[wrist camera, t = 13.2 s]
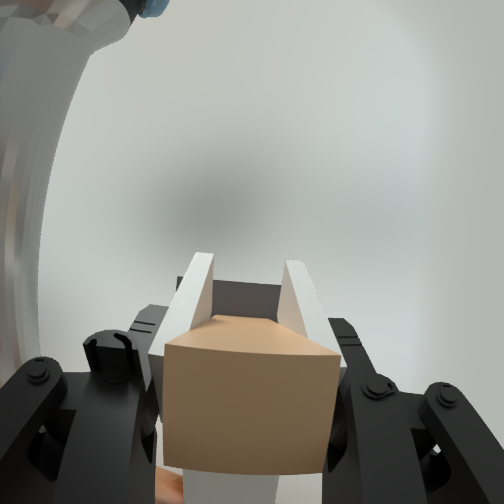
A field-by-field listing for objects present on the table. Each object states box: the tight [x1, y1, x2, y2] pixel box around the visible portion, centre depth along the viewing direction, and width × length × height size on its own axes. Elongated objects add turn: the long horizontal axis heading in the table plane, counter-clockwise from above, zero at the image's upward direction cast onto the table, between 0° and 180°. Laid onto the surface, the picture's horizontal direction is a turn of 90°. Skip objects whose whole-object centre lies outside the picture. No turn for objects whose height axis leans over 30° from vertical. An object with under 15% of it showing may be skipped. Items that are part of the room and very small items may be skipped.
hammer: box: [163, 276, 341, 475], centre depth 14 cm, size 19×8×4 cm, turn 3°
